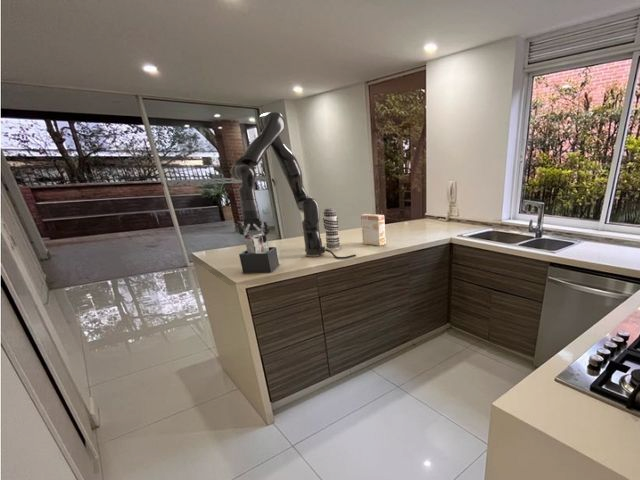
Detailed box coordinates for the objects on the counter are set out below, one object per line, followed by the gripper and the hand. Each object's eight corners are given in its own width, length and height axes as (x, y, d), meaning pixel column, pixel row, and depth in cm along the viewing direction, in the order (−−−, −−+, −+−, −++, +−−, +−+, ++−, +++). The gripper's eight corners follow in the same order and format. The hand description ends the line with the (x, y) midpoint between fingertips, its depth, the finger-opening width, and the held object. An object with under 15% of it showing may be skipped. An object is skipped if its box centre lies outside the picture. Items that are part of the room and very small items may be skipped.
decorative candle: (330, 246, 225) (326, 207, 214) (343, 247, 222) (339, 207, 212) (323, 249, 217) (318, 209, 206) (336, 250, 214) (332, 209, 204)
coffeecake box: (385, 244, 231) (384, 214, 223) (379, 246, 225) (377, 216, 217) (369, 241, 238) (367, 213, 230) (362, 243, 233) (360, 214, 225)
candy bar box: (264, 264, 182) (258, 233, 175) (272, 264, 181) (266, 233, 174) (250, 270, 172) (243, 237, 165) (259, 270, 171) (252, 238, 164)
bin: (279, 264, 184) (276, 246, 180) (271, 272, 171) (267, 253, 167) (253, 265, 183) (249, 247, 179) (243, 273, 170) (238, 254, 166)
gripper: (267, 208, 168) (273, 240, 175) (237, 208, 167) (244, 241, 174) (262, 209, 162) (269, 244, 168) (231, 210, 160) (239, 244, 167)
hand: (256, 242), depth 171 cm, fingers open, 7 cm apart
